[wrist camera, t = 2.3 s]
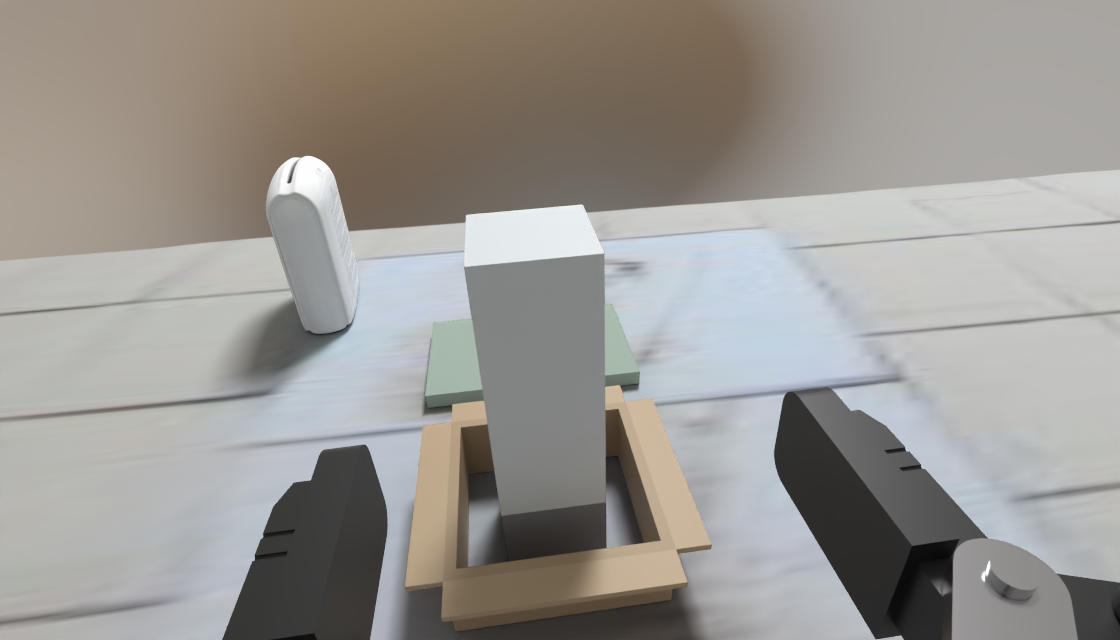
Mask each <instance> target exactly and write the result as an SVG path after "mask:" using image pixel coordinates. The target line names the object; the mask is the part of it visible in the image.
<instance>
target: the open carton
mask: <svg viewBox="0 0 1120 640" xmlns="http://www.w3.org/2000/svg"><path fill="white" fill-rule="evenodd" d="M605 432H606V457H612V456H618V457H619V460H620V464H621V467H622V471H623V474H624V478H625V481H626V485H627V488H628V491H629V495H630V498H631V502H632V505H633V509H634V512H635V516H636V519H637V522H638V526H639V529H640V533H641V536H642V540H643V543H640V544H633V545H626V546H619V547H611V548H604V549H597V550H590V551H582V552H575V553H568V554H561V555H553V556H546V557H539V558H532V559H524V560H517V561H510V562H503V563H495V564H488V565H481V566H473V567H468V529H469V474H476V473H484V472H492V471H494V464H493V458H492V451H491V444H490V438H489V431H488V424H487V417H486V411H485V404H484V401H477V402H468V403H459V404H452V422H449V423H441V424H432V425H424V426H423V432H422V441H421V450H420V458H419V467H418V476H417V485H416V493H415V502H414V511H413V520H412V528H411V537H410V546H409V555H408V563H407V572H406V581H405V589H406V592H407V591H414V590H421V589H429V588H436V587H443V592H442V610H441V619H442V622H448V621H453V624H454V628H455V632H456V631H463V630H470V629H477V628H484V627H490V626H497V625H504V624H511V623H518V622H525V621H531V620H538V619H545V618H552V617H559V616H566V615H572V614H579V613H586V612H593V611H600V610H607V609H613V608H620V607H627V606H634V605H641V604H648V603H654V602H661V601H668V600H672V589H676V588H683V587H687V579H686V576H685V574H684V571H683V568H682V565H681V562H680V559H679V556H678V554H679V553H686V552H693V551H700V550H707V549H711V545H712V544H711V542H710V539H709V537H708V534H707V532H706V529H705V527H704V524H703V522H702V519H701V517H700V515H699V512H698V510H697V507H696V505H695V502H694V500H693V497H692V495H691V492H690V490H689V488H688V485H687V483H686V480H685V478H684V475H683V473H682V470H681V468H680V465H679V463H678V461H677V458H676V456H675V453H674V451H673V448H672V446H671V443H670V441H669V438H668V436H667V433H666V431H665V429H664V426H663V424H662V421H661V419H660V416H659V414H658V411H657V409H656V406H655V404H654V402H653V399H645V400H637V401H628V402H625V399H624V396H623V393H622V390H621V387H620V385H616V386H607V387H605Z"/></svg>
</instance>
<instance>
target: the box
mask: <svg viewBox="0 0 1120 640" xmlns="http://www.w3.org/2000/svg"><path fill="white" fill-rule="evenodd" d="M464 270H465V276H466V283H467V290H468V297H469V303H470V310H471V317H472V323H473V330H474V337H475V344H476V350H477V357H478V364H479V370H480V377H481V384H482V391H483V397H484V404H485V411H486V417H487V424H488V431H489V438H490V444H491V451H492V458H493V464H494V471H495V478H496V485H497V491H498V498H499V505H500V511H501V518H502V525H503V532H504V538H505V545H506V552H507V559H508V562H510V561H517V560H524V559H532V558H539V557H546V556H553V555H561V554H568V553H575V552H582V551H590V550H597V549H604V548H606V432H605V290H604V252H603V249H602V247H601V245H600V243H599V241H598V238H597V236H596V234H595V232H594V229H593V227H592V225H591V223H590V220H589V218H588V216H587V214H586V212H585V209H584V207H583V205H573V206H562V207H551V208H539V209H528V210H517V211H506V212H495V213H484V214H472V215H466V231H465V256H464Z"/></svg>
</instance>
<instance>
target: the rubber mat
mask: <svg viewBox="0 0 1120 640" xmlns="http://www.w3.org/2000/svg"><path fill="white" fill-rule="evenodd" d="M639 374H640V371H639V369H638V366H637V364H636V362H635V359H634V357H633V354H632V352H631V349H630V347H629V344H628V342H627V339H626V337H625V334H624V332H623V329H622V327H621V324H620V322H619V319H618V317H617V314H616V312H615V309H614V307H613V304H608V305H605V387H607V386H616V385H620V386H623V385H632V384H639ZM425 398H426V403H427V408H432V407H441V406H449V405H452V404H459V403H468V402H477V401H484V397H483V391H482V384H481V377H480V370H479V364H478V357H477V350H476V344H475V337H474V330H473V323H472V319H463V320H454V321H444V322H434V324H433V332H432V341H431V349H430V358H429V366H428V375H427V383H426V392H425Z"/></svg>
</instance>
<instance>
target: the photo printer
mask: <svg viewBox="0 0 1120 640" xmlns="http://www.w3.org/2000/svg"><path fill="white" fill-rule="evenodd" d="M266 213H267V219H268V222H269V225H270V228H271V231H272V234H273V238H274V241H275V244H276V247H277V250H278V253H279V256H280V259H281V262H282V265H283V268H284V271H285V274H286V277H287V280H288V284H289V287H290V290H291V293H292V296H293V299H294V302H295V305H296V307H297V310H298V313H299V316H300V319H301V322H302V324H303V327H304V329H305V330H306V331H311V332H312V333H316V334H325V333H331V332H335V331H339V330H341V329H344V328H345V327H346V325H348V324H350V323H351V322H352V320H353V318H354V314H355V310H356V305H357V299H358V293H359V286H360V276H359V270H358V266H357V263H356V259H355V255H354V251H353V247H352V243H351V240H350V236H349V232H348V228H347V224H346V220H345V216H344V213H343V208H342V205H341V201H340V197H339V193H338V189H337V185H336V181H335V178H334V176H333V173H332V171H331V170H330V169H329V167H328V166H327V165H326V164H325V163H324V162H322V161H321V160H319V159H317V158H315V157H311V156H305V157H303V158H291V159H289V160H288V161H286V162H285V163H284V164H283V165H282V166H280V168H279V169H278V170H277V172H276V173H275V175H274V177H273V179H272V181H271V184H270V186H269V190H268V194H267V199H266Z"/></svg>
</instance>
